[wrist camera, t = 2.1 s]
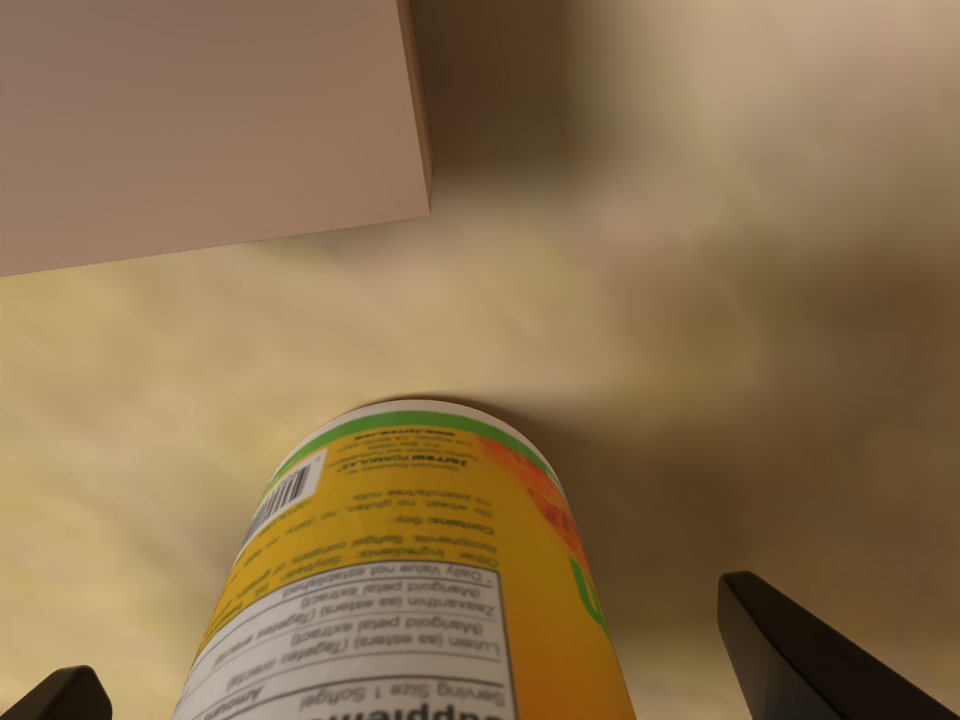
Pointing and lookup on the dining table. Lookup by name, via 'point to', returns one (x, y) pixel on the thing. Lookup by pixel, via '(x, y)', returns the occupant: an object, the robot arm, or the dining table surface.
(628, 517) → the dining table surface
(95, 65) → the pinkish brown block
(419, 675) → the supplement bottle
